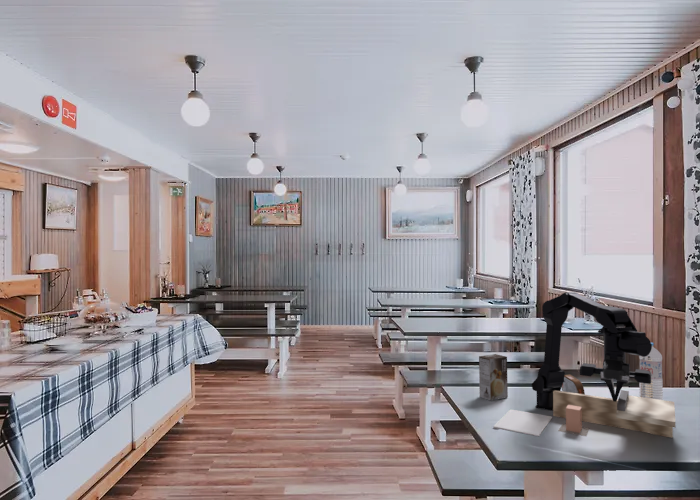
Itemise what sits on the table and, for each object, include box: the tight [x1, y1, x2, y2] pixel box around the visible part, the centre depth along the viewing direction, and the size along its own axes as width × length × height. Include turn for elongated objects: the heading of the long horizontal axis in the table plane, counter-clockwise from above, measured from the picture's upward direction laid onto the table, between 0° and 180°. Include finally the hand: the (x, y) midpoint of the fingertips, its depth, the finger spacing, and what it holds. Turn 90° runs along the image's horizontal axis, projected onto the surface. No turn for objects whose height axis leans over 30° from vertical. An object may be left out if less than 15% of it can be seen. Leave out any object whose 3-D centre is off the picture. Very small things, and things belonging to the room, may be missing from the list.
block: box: [565, 405, 583, 433], centre depth 150 cm, size 4×4×7 cm
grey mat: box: [492, 408, 553, 437], centre depth 157 cm, size 14×20×1 cm
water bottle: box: [638, 342, 664, 400], centre depth 165 cm, size 7×7×25 cm
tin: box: [561, 374, 586, 395], centre depth 183 cm, size 15×3×8 cm, turn 179°
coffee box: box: [478, 353, 509, 402], centre depth 185 cm, size 9×6×16 cm
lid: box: [616, 389, 676, 428], centre depth 141 cm, size 14×21×4 cm, turn 146°
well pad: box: [558, 422, 590, 437], centre depth 150 cm, size 8×8×1 cm
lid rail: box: [552, 390, 674, 438], centre depth 154 cm, size 34×2×9 cm, turn 56°
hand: (614, 401), depth 144 cm, fingers closed
